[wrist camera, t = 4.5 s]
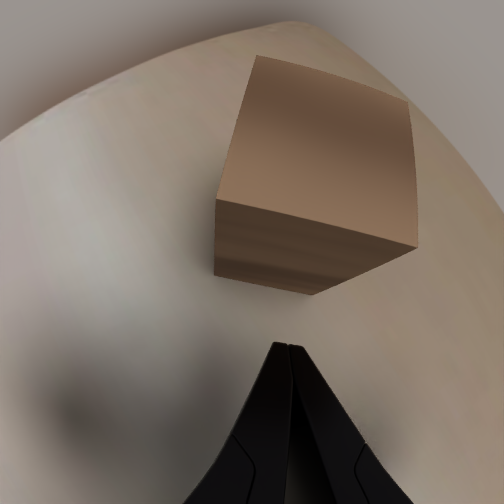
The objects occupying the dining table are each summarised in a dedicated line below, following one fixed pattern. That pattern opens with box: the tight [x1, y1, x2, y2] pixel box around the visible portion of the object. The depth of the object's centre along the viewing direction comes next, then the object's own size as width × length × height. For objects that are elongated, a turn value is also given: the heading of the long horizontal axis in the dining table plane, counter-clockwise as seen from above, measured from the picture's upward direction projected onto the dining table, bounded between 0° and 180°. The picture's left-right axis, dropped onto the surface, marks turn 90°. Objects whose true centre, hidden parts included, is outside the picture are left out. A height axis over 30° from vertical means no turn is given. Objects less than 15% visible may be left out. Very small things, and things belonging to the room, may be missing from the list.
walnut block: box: [214, 55, 418, 295], centre depth 12 cm, size 5×5×9 cm
